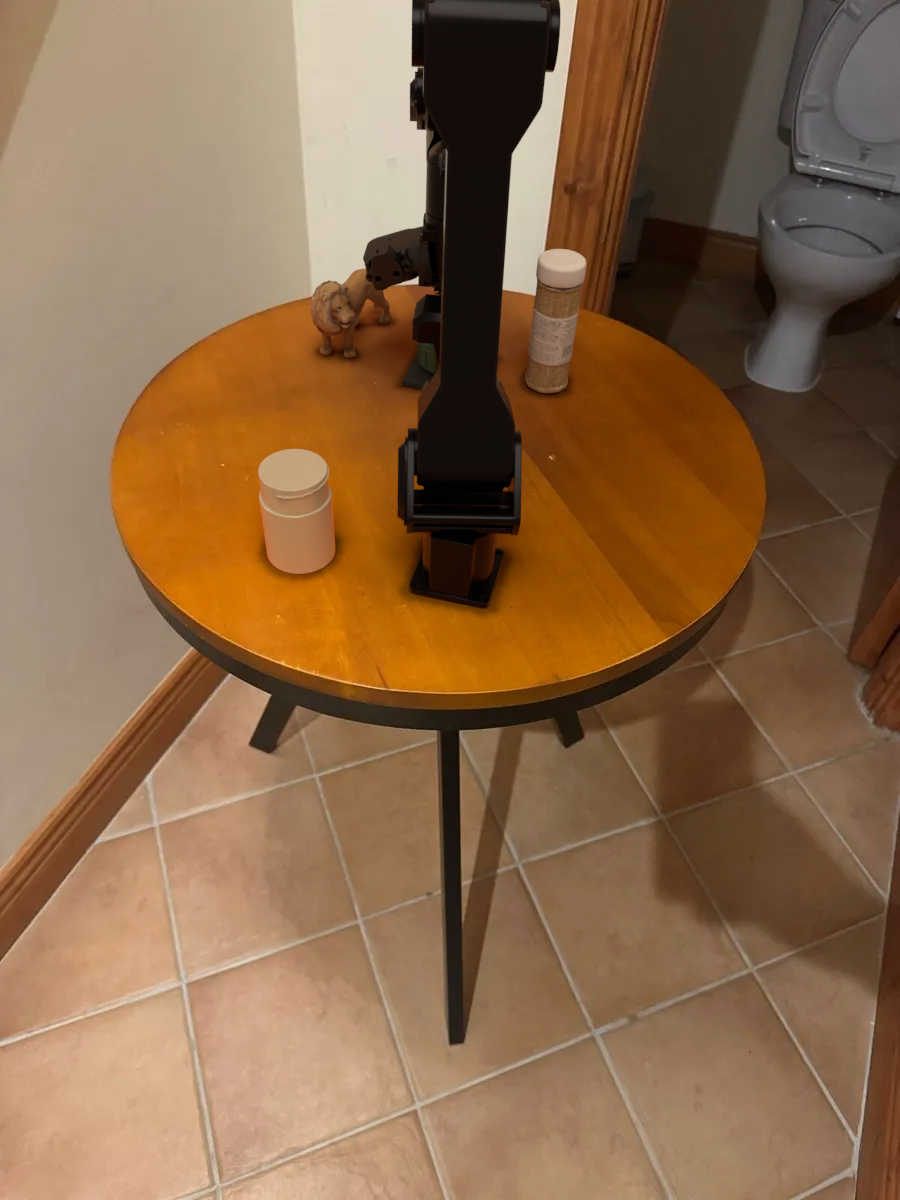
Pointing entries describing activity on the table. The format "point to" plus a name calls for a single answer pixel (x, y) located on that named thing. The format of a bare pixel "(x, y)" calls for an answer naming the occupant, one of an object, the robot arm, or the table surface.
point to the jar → (297, 510)
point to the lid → (427, 357)
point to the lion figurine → (344, 309)
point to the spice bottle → (554, 319)
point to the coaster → (416, 375)
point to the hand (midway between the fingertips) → (449, 362)
